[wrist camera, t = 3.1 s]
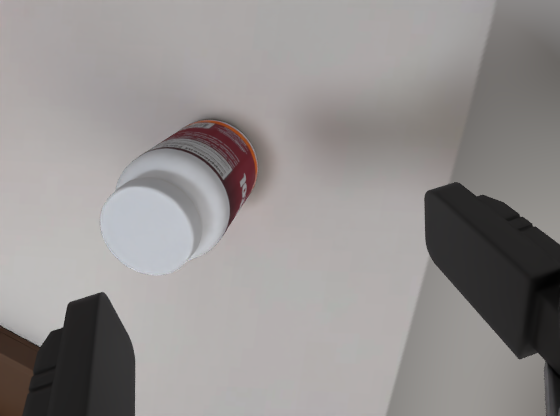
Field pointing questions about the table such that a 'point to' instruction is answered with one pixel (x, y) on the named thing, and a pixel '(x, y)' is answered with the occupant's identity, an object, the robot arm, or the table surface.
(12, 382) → the tray
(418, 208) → the table surface
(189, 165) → the pill bottle
